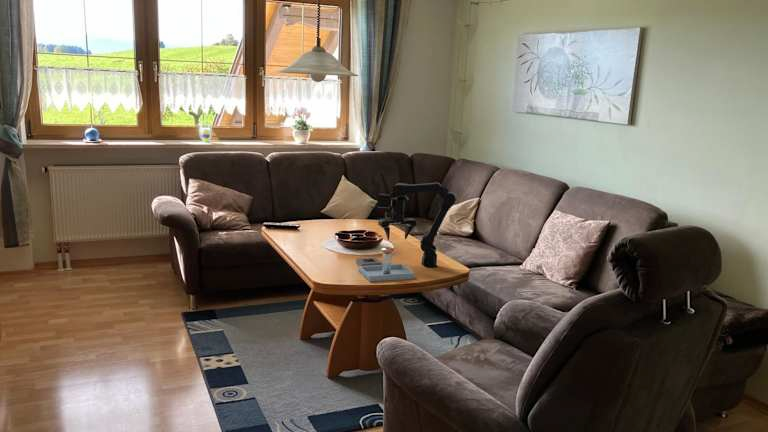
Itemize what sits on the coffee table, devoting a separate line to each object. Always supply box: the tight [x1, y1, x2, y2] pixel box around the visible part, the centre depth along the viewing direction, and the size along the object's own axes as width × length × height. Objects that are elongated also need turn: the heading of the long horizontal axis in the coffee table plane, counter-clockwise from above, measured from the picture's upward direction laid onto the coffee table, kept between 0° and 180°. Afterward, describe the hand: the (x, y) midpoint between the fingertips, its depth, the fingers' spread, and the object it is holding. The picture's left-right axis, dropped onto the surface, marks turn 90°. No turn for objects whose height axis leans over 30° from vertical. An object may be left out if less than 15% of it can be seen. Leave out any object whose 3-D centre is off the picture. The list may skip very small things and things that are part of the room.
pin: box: [381, 246, 394, 275], centre depth 289 cm, size 6×6×12 cm
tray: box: [358, 263, 416, 283], centre depth 291 cm, size 22×16×3 cm
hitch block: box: [355, 257, 383, 267], centre depth 305 cm, size 10×10×2 cm
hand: (396, 239), depth 310 cm, fingers open, 9 cm apart
